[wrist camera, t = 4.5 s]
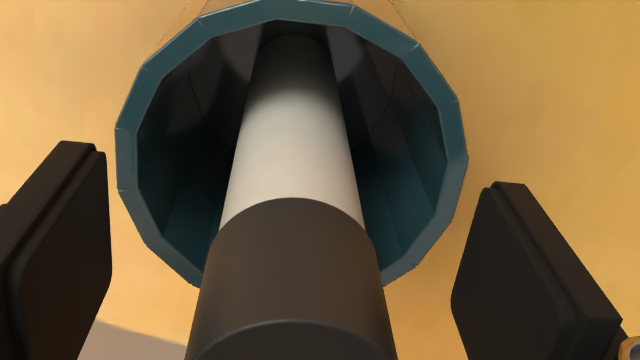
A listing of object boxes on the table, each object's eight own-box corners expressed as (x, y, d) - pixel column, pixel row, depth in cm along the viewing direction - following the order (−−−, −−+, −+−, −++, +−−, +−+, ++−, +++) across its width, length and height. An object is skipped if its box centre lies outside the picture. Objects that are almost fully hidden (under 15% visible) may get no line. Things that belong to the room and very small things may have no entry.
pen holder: (428, -36, 19) (507, 22, 12) (385, 180, 23) (426, 321, 16) (179, -68, 18) (106, -27, 11) (177, 160, 22) (121, 299, 15)
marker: (342, 35, 19) (426, 328, 7) (331, 118, 21) (382, 484, 9) (252, 25, 19) (177, 312, 7) (246, 110, 21) (175, 475, 8)
